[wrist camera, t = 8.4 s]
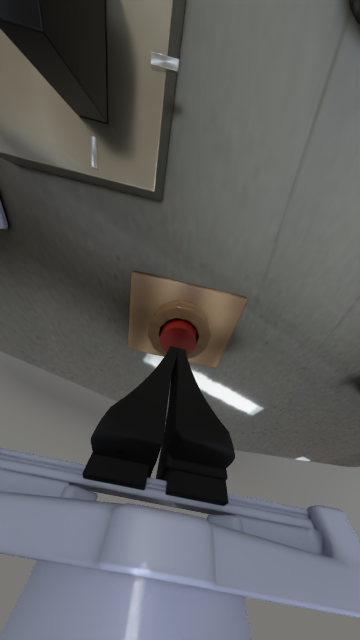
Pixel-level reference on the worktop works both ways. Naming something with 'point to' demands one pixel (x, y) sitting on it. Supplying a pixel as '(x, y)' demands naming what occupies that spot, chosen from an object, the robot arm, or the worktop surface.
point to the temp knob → (63, 47)
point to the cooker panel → (122, 105)
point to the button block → (181, 315)
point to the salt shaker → (356, 8)
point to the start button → (178, 336)
